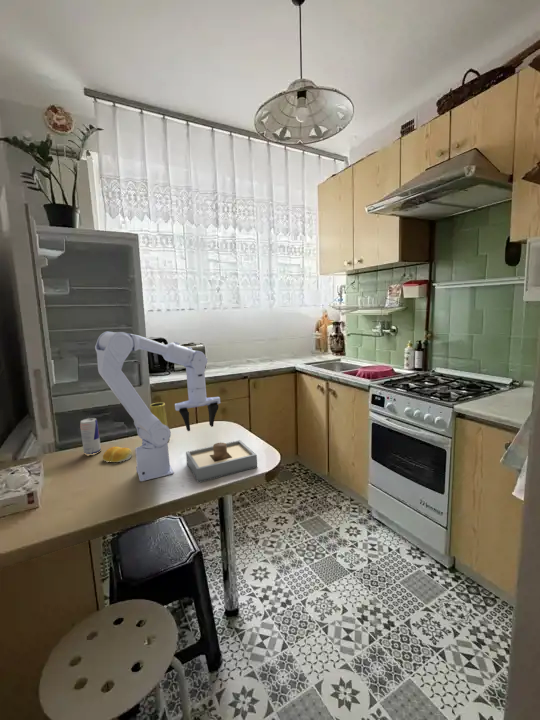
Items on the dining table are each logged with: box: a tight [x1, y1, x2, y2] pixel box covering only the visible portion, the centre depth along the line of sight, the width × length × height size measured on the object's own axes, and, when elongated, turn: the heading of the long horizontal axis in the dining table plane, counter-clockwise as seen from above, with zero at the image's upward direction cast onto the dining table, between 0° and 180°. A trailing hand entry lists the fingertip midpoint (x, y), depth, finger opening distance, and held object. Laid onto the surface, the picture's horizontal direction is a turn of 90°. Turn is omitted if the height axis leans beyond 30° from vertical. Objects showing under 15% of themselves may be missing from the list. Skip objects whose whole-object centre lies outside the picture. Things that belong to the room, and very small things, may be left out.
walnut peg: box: [212, 442, 227, 462], centre depth 109 cm, size 4×4×6 cm
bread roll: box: [102, 446, 133, 463], centre depth 119 cm, size 8×9×4 cm
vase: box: [149, 401, 171, 441], centre depth 132 cm, size 6×6×14 cm
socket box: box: [185, 439, 258, 483], centre depth 109 cm, size 18×14×4 cm
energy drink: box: [79, 417, 102, 454], centre depth 124 cm, size 5×5×12 cm
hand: (200, 428), depth 117 cm, fingers open, 7 cm apart
